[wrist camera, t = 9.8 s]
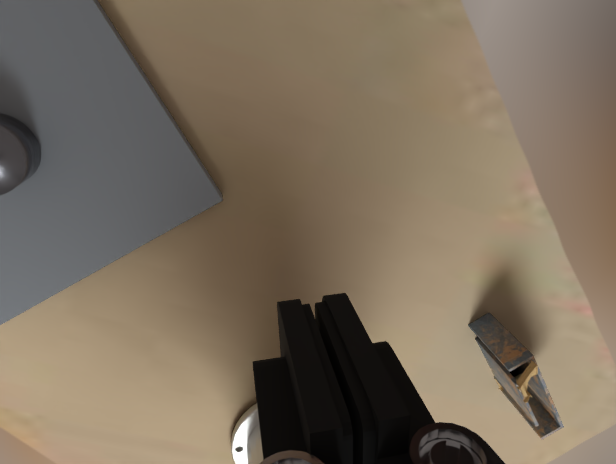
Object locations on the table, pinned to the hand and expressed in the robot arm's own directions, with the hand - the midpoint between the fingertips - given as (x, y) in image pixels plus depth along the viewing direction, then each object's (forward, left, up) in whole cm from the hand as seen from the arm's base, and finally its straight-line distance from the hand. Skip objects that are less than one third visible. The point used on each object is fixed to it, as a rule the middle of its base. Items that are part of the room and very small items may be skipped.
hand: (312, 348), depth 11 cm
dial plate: (+8, +15, -27) cm, 32 cm away
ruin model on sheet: (-34, -12, -28) cm, 46 cm away
